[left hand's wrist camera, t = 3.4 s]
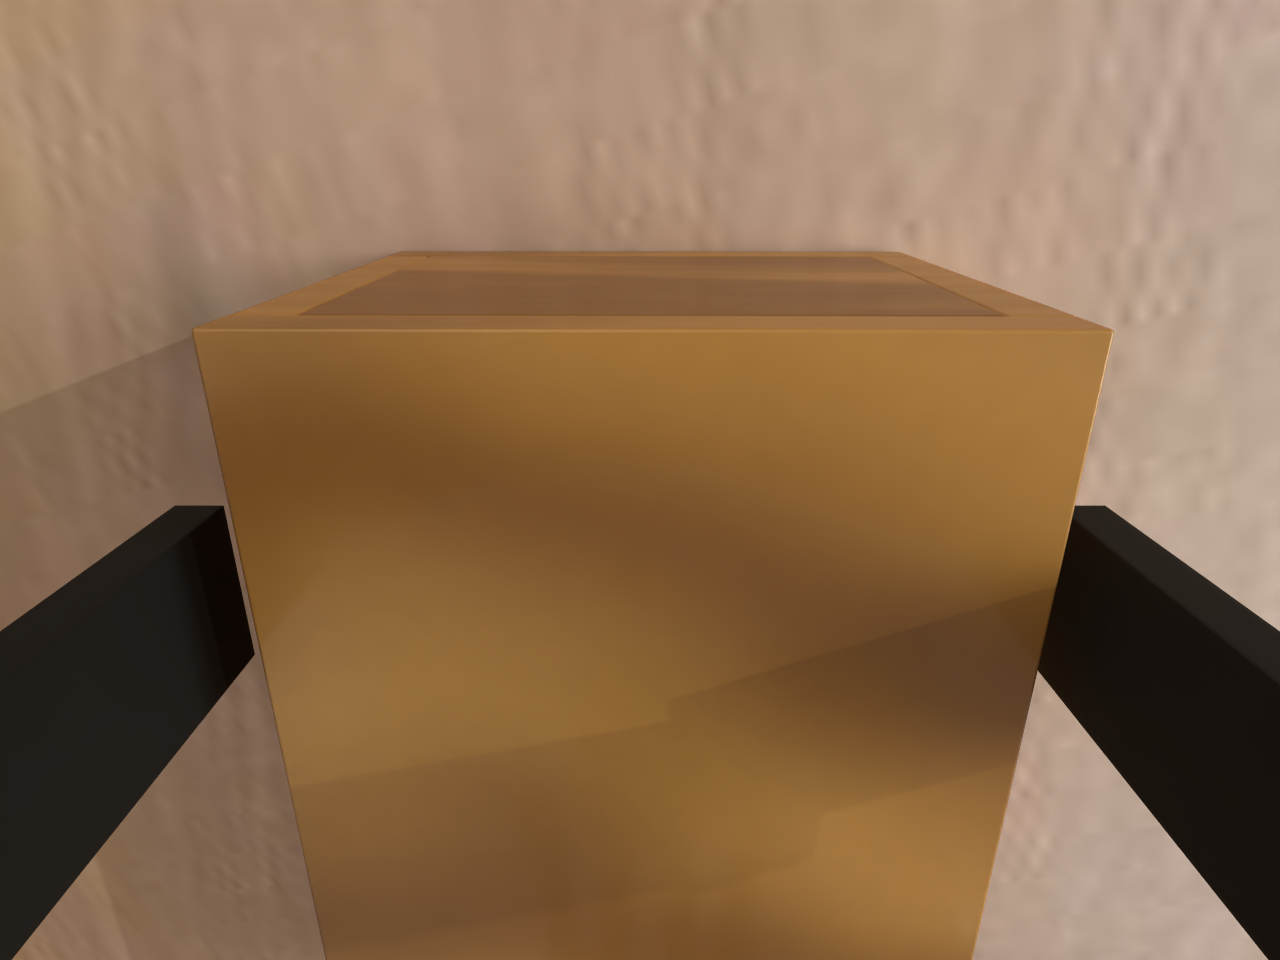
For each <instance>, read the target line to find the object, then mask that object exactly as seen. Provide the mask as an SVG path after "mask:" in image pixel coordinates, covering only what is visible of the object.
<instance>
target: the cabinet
mask: <svg viewBox="0 0 1280 960" xmlns="http://www.w3.org/2000/svg"><path fill="white" fill-rule="evenodd" d="M192 335H193V340H194V345H195V349H196V354H197V359H198V363H199V368H200V373H201V377H202V382H203V387H204V392H205V396H206V401H207V406H208V410H209V415H210V420H211V424H212V429H213V434H214V438H215V443H216V448H217V452H218V457H219V462H220V466H221V471H222V476H223V480H224V485H225V490H226V494H227V499H228V504H229V508H230V513H231V518H232V522H233V527H234V532H235V536H236V541H237V546H238V550H239V555H240V560H241V564H242V569H243V574H244V578H245V583H246V588H247V592H248V597H249V602H250V606H251V611H252V616H253V620H254V625H255V630H256V634H257V639H258V644H259V648H260V653H261V658H262V662H263V667H264V672H265V676H266V681H267V686H268V690H269V695H270V700H271V704H272V709H273V714H274V718H275V723H276V728H277V732H278V737H279V742H280V746H281V751H282V756H283V760H284V765H285V770H286V774H287V779H288V784H289V788H290V793H291V798H292V802H293V807H294V812H295V816H296V821H297V826H298V830H299V835H300V840H301V844H302V849H303V854H304V858H305V863H306V868H307V872H308V877H309V882H310V886H311V891H312V896H313V900H314V905H315V910H316V914H317V919H318V924H319V928H320V933H321V938H322V942H323V947H324V952H325V956H326V960H972V957H973V953H974V949H975V944H976V940H977V935H978V931H979V927H980V922H981V918H982V913H983V909H984V905H985V900H986V896H987V891H988V887H989V882H990V878H991V874H992V869H993V865H994V860H995V856H996V852H997V847H998V843H999V838H1000V834H1001V829H1002V825H1003V821H1004V816H1005V812H1006V807H1007V803H1008V799H1009V794H1010V790H1011V785H1012V781H1013V776H1014V772H1015V768H1016V763H1017V759H1018V754H1019V750H1020V746H1021V741H1022V737H1023V732H1024V728H1025V723H1026V719H1027V715H1028V710H1029V706H1030V701H1031V697H1032V693H1033V688H1034V684H1035V679H1036V675H1037V670H1038V666H1039V662H1040V657H1041V653H1042V648H1043V644H1044V640H1045V635H1046V631H1047V626H1048V622H1049V618H1050V613H1051V609H1052V604H1053V600H1054V595H1055V591H1056V587H1057V582H1058V578H1059V573H1060V569H1061V565H1062V560H1063V556H1064V551H1065V547H1066V542H1067V538H1068V534H1069V529H1070V525H1071V520H1072V516H1073V512H1074V507H1075V503H1076V498H1077V494H1078V489H1079V485H1080V481H1081V476H1082V472H1083V467H1084V463H1085V459H1086V454H1087V450H1088V445H1089V441H1090V436H1091V432H1092V428H1093V423H1094V419H1095V414H1096V410H1097V406H1098V401H1099V397H1100V392H1101V388H1102V383H1103V379H1104V375H1105V370H1106V366H1107V361H1108V357H1109V353H1110V348H1111V344H1112V339H1113V335H1114V332H1113V330H1111V329H1109V328H1106V327H1103V326H1101V325H1098V324H1095V323H1092V322H1090V321H1087V320H1084V319H1081V318H1079V317H1075V316H1073V315H1071V314H1068V313H1065V312H1062V311H1060V310H1057V309H1054V308H1051V307H1049V306H1046V305H1043V304H1041V303H1038V302H1035V301H1032V300H1030V299H1027V298H1024V297H1021V296H1019V295H1016V294H1013V293H1010V292H1008V291H1005V290H1002V289H999V288H997V287H994V286H991V285H988V284H986V283H983V282H980V281H977V280H975V279H972V278H969V277H966V276H964V275H961V274H958V273H955V272H953V271H950V270H947V269H944V268H942V267H939V266H936V265H934V264H931V263H928V262H925V261H923V260H920V259H917V258H914V257H911V256H908V255H906V254H903V253H900V252H398V253H396V254H393V255H390V256H388V257H385V258H383V259H380V260H377V261H374V262H372V263H369V264H366V265H364V266H361V267H358V268H356V269H353V270H350V271H348V272H345V273H342V274H339V275H337V276H334V277H331V278H329V279H326V280H323V281H321V282H318V283H315V284H313V285H310V286H307V287H304V288H302V289H299V290H296V291H294V292H291V293H288V294H286V295H283V296H280V297H277V298H275V299H272V300H269V301H267V302H264V303H261V304H259V305H256V306H253V307H251V308H248V309H245V310H242V311H240V312H237V313H234V314H232V315H228V316H225V317H222V318H219V319H217V320H214V321H211V322H209V323H206V324H203V325H201V326H198V327H195V328H193V329H192Z"/></svg>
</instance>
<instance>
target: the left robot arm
mask: <svg viewBox="0 0 1280 960" xmlns="http://www.w3.org/2000/svg"><path fill="white" fill-rule="evenodd" d="M254 655H255V653H254V649H253V644H252V639H251V634H250V630H249V625H248V620H247V615H246V610H245V606H244V601H243V596H242V591H241V587H240V582H239V577H238V572H237V567H236V563H235V558H234V553H233V548H232V544H231V539H230V534H229V529H228V525H227V520H226V515H225V510H224V506H174V507H172V508H171V509H170V510H168V511H167V512H166V513H164V514H163V515H161V516H160V517H159V518H157V519H156V520H154V521H153V522H152V523H150V524H149V525H147V526H146V527H145V528H143V529H142V530H141V531H139V532H138V533H136V534H135V535H134V536H132V537H131V538H129V539H128V540H127V541H125V542H124V543H122V544H121V545H120V546H118V547H117V548H116V549H114V550H113V551H111V552H110V553H109V554H107V555H106V556H104V557H103V558H102V559H100V560H99V561H97V562H96V563H95V564H93V565H92V566H91V567H89V568H88V569H86V570H85V571H84V572H82V573H81V574H79V575H78V576H77V577H75V578H74V579H72V580H71V581H70V582H68V583H67V584H66V585H64V586H63V587H61V588H60V589H59V590H57V591H56V592H54V593H53V594H52V595H50V596H49V597H47V598H46V599H45V600H43V601H42V602H41V603H39V604H38V605H36V606H35V607H34V608H32V609H31V610H29V611H28V612H27V613H25V614H24V615H22V616H21V617H20V618H18V619H17V620H16V621H14V622H13V623H11V624H10V625H9V626H7V627H6V628H4V629H3V630H2V631H0V960H12V959H13V957H14V956H15V955H16V954H17V952H18V951H19V950H20V949H21V947H22V946H23V945H24V943H25V942H26V941H27V940H28V938H29V937H30V936H31V935H32V933H33V932H34V931H35V930H36V928H37V927H38V926H39V925H40V923H41V922H42V921H43V920H44V918H45V917H46V916H47V915H48V913H49V912H50V911H51V910H52V908H53V907H54V906H55V905H56V903H57V902H58V901H59V900H60V898H61V897H62V896H63V895H64V893H65V892H66V891H67V890H68V888H69V887H70V886H71V884H72V883H73V882H74V881H75V879H76V878H77V877H78V876H79V874H80V873H81V872H82V871H83V869H84V868H85V867H86V866H87V864H88V863H89V862H90V861H91V859H92V858H93V857H94V856H95V854H96V853H97V852H98V851H99V849H100V848H101V847H102V846H103V844H104V843H105V842H106V841H107V839H108V838H109V837H110V836H111V834H112V833H113V832H114V831H115V829H116V828H117V827H118V826H119V824H120V823H121V822H122V820H123V819H124V818H125V817H126V815H127V814H128V813H129V812H130V810H131V809H132V808H133V807H134V805H135V804H136V803H137V802H138V800H139V799H140V798H141V797H142V795H143V794H144V793H145V792H146V790H147V789H148V788H149V787H150V785H151V784H152V783H153V782H154V780H155V779H156V778H157V777H158V775H159V774H160V773H161V772H162V770H163V769H164V768H165V767H166V765H167V764H168V763H169V761H170V760H171V759H172V758H173V756H174V755H175V754H176V753H177V751H178V750H179V749H180V748H181V746H182V745H183V744H184V743H185V741H186V740H187V739H188V738H189V736H190V735H191V734H192V733H193V731H194V730H195V729H196V728H197V726H198V725H199V724H200V723H201V721H202V720H203V719H204V718H205V716H206V715H207V714H208V713H209V711H210V710H211V709H212V708H213V706H214V705H215V704H216V703H217V701H218V700H219V699H220V697H221V696H222V695H223V694H224V692H225V691H226V690H227V689H228V687H229V686H230V685H231V684H232V682H233V681H234V680H235V679H236V677H237V676H238V675H239V674H240V672H241V671H242V670H243V669H244V667H245V666H246V665H247V664H248V662H249V661H250V660H251V659H252V657H253V656H254ZM1038 671H1039V672H1040V674H1041V675H1042V676H1043V677H1044V679H1045V680H1046V681H1047V682H1048V684H1049V685H1050V686H1051V687H1052V689H1053V690H1054V691H1055V692H1056V694H1057V695H1058V696H1059V697H1060V699H1061V700H1062V701H1063V703H1064V704H1065V705H1066V706H1067V708H1068V709H1069V710H1070V711H1071V713H1072V714H1073V715H1074V716H1075V718H1076V719H1077V720H1078V721H1079V723H1080V724H1081V725H1082V726H1083V728H1084V729H1085V730H1086V731H1087V733H1088V734H1089V735H1090V736H1091V738H1092V739H1093V740H1094V741H1095V743H1096V744H1097V745H1098V746H1099V748H1100V749H1101V750H1102V751H1103V753H1104V754H1105V755H1106V756H1107V758H1108V759H1109V760H1110V761H1111V763H1112V764H1113V765H1114V767H1115V768H1116V769H1117V770H1118V772H1119V773H1120V774H1121V775H1122V777H1123V778H1124V779H1125V780H1126V782H1127V783H1128V784H1129V785H1130V787H1131V788H1132V789H1133V790H1134V792H1135V793H1136V794H1137V795H1138V797H1139V798H1140V799H1141V800H1142V802H1143V803H1144V804H1145V805H1146V807H1147V808H1148V809H1149V810H1150V812H1151V813H1152V814H1153V815H1154V817H1155V818H1156V819H1157V820H1158V822H1159V823H1160V824H1161V826H1162V827H1163V828H1164V829H1165V831H1166V832H1167V833H1168V834H1169V836H1170V837H1171V838H1172V839H1173V841H1174V842H1175V843H1176V844H1177V846H1178V847H1179V848H1180V849H1181V851H1182V852H1183V853H1184V854H1185V856H1186V857H1187V858H1188V859H1189V861H1190V862H1191V863H1192V864H1193V866H1194V867H1195V868H1196V869H1197V871H1198V872H1199V873H1200V874H1201V876H1202V877H1203V878H1204V879H1205V881H1206V882H1207V883H1208V884H1209V886H1210V887H1211V888H1212V890H1213V891H1214V892H1215V893H1216V895H1217V896H1218V897H1219V898H1220V900H1221V901H1222V902H1223V903H1224V905H1225V906H1226V907H1227V908H1228V910H1229V911H1230V912H1231V913H1232V915H1233V916H1234V917H1235V918H1236V920H1237V921H1238V922H1239V923H1240V925H1241V926H1242V927H1243V928H1244V930H1245V931H1246V932H1247V933H1248V935H1249V936H1250V937H1251V938H1252V940H1253V941H1254V942H1255V943H1256V945H1257V946H1258V947H1259V949H1260V950H1261V951H1262V952H1263V954H1264V955H1265V956H1266V957H1267V959H1268V960H1280V631H1278V630H1277V629H1276V628H1274V627H1273V626H1271V625H1270V624H1269V623H1267V622H1266V621H1264V620H1263V619H1262V618H1260V617H1259V616H1258V615H1256V614H1255V613H1253V612H1252V611H1251V610H1249V609H1248V608H1246V607H1245V606H1244V605H1242V604H1241V603H1239V602H1238V601H1237V600H1235V599H1234V598H1233V597H1231V596H1230V595H1228V594H1227V593H1226V592H1224V591H1223V590H1221V589H1220V588H1219V587H1217V586H1216V585H1214V584H1213V583H1212V582H1210V581H1209V580H1208V579H1206V578H1205V577H1203V576H1202V575H1201V574H1199V573H1198V572H1196V571H1195V570H1194V569H1192V568H1191V567H1189V566H1188V565H1187V564H1185V563H1184V562H1183V561H1181V560H1180V559H1178V558H1177V557H1176V556H1174V555H1173V554H1171V553H1170V552H1169V551H1167V550H1166V549H1164V548H1163V547H1162V546H1160V545H1159V544H1158V543H1156V542H1155V541H1153V540H1152V539H1151V538H1149V537H1148V536H1146V535H1145V534H1144V533H1142V532H1141V531H1139V530H1138V529H1137V528H1135V527H1134V526H1133V525H1131V524H1130V523H1128V522H1127V521H1126V520H1124V519H1123V518H1121V517H1120V516H1119V515H1117V514H1116V513H1114V512H1113V511H1112V510H1110V509H1109V508H1107V507H1106V506H1075V507H1074V512H1073V516H1072V520H1071V525H1070V529H1069V534H1068V538H1067V542H1066V547H1065V551H1064V556H1063V560H1062V565H1061V569H1060V573H1059V578H1058V582H1057V587H1056V591H1055V595H1054V600H1053V604H1052V609H1051V613H1050V618H1049V622H1048V626H1047V631H1046V635H1045V640H1044V644H1043V648H1042V653H1041V657H1040V662H1039V666H1038Z"/></svg>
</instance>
